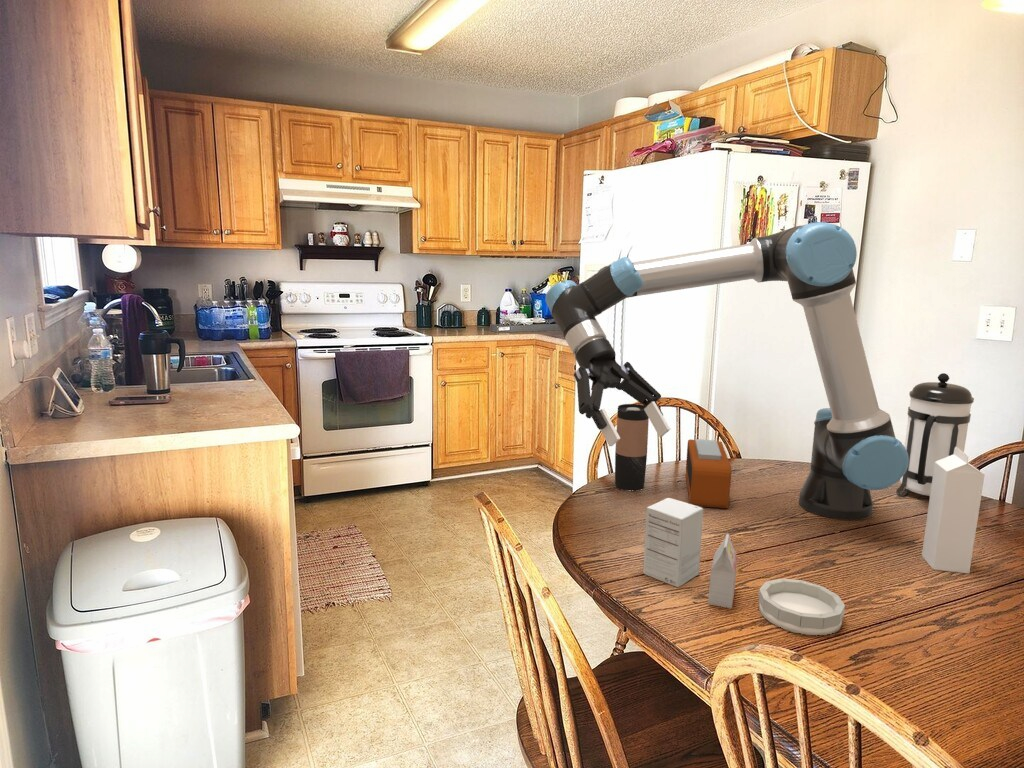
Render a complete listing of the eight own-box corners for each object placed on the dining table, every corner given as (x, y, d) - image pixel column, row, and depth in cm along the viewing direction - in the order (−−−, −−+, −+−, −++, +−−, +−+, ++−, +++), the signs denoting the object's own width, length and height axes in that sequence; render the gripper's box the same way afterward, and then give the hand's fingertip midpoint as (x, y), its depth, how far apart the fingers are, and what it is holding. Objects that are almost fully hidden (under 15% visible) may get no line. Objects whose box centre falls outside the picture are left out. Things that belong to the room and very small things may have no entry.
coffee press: (875, 484, 168) (890, 367, 162) (939, 485, 167) (956, 368, 162) (914, 509, 151) (932, 380, 145) (985, 511, 150) (1006, 381, 145)
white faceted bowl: (827, 599, 110) (829, 582, 109) (853, 639, 98) (855, 620, 97) (752, 592, 111) (753, 576, 111) (768, 631, 100) (770, 613, 99)
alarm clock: (685, 475, 173) (688, 433, 171) (718, 477, 171) (721, 435, 169) (690, 507, 150) (693, 459, 148) (728, 511, 148) (732, 462, 146)
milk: (932, 570, 121) (948, 454, 117) (921, 556, 127) (935, 445, 123) (970, 574, 119) (987, 456, 115) (957, 559, 125) (973, 447, 121)
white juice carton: (708, 604, 107) (712, 546, 106) (712, 585, 114) (716, 530, 112) (731, 608, 106) (736, 550, 104) (734, 589, 112) (739, 534, 110)
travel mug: (643, 481, 166) (647, 404, 163) (646, 492, 159) (651, 411, 155) (612, 480, 167) (616, 403, 163) (614, 490, 160) (618, 410, 156)
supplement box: (664, 561, 123) (668, 496, 120) (700, 574, 117) (705, 507, 115) (641, 573, 118) (645, 506, 115) (677, 588, 112) (682, 518, 110)
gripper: (624, 355, 143) (672, 439, 134) (533, 362, 128) (581, 457, 119) (644, 334, 138) (696, 419, 129) (552, 339, 123) (603, 435, 114)
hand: (640, 437), depth 124 cm, fingers open, 13 cm apart
